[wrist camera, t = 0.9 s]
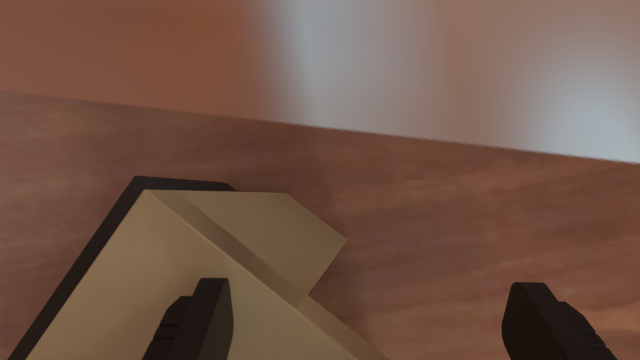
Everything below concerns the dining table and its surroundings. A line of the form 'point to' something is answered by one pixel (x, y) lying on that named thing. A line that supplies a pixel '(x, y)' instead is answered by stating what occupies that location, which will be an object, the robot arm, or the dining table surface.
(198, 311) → the robot arm
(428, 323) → the dining table surface
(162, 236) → the lidded cardboard box
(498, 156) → the dining table surface
